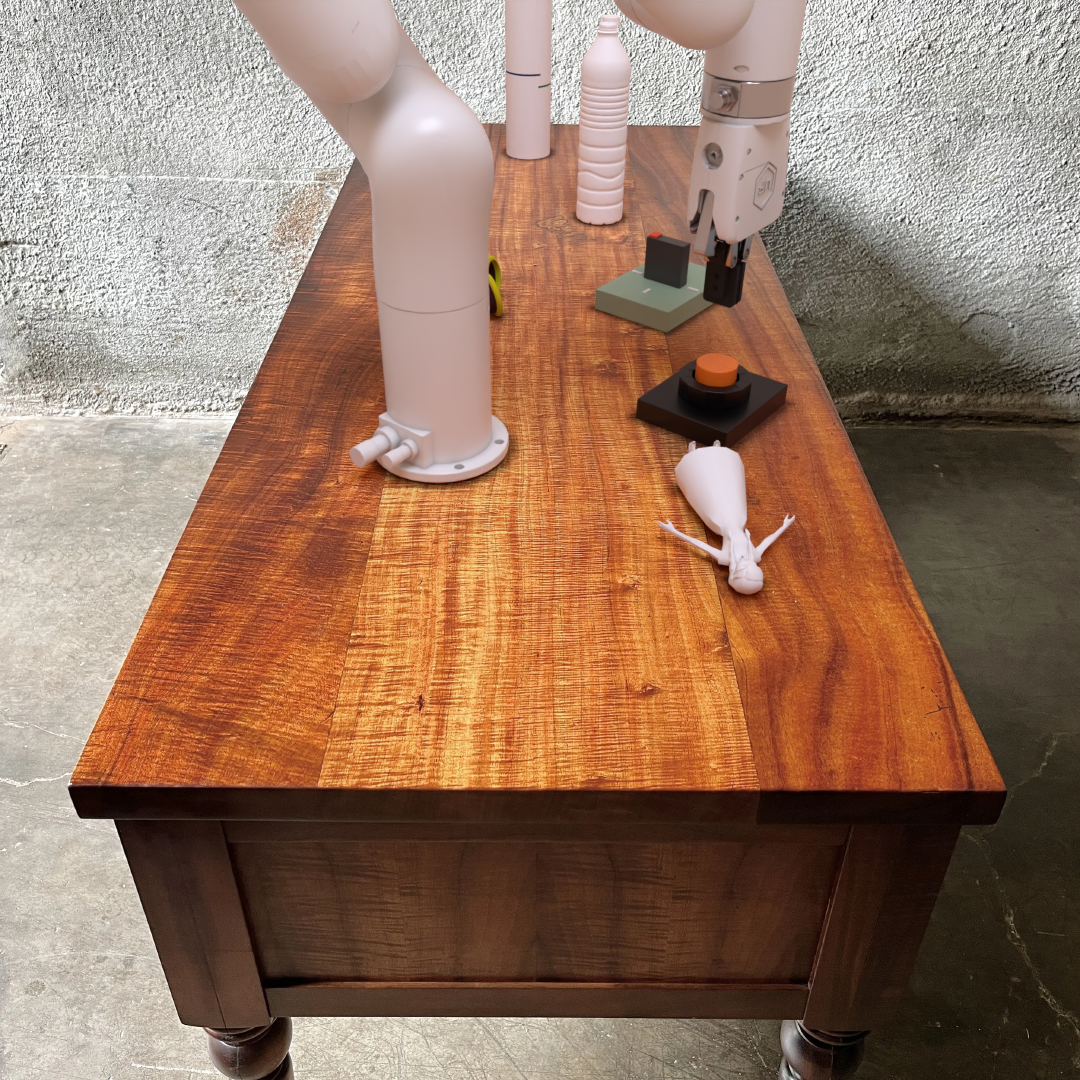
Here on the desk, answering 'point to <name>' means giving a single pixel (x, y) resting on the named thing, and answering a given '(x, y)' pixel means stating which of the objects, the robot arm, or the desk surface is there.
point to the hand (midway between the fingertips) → (721, 300)
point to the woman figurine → (722, 512)
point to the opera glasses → (495, 286)
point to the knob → (666, 260)
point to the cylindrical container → (528, 77)
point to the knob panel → (653, 298)
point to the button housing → (711, 406)
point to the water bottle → (603, 126)
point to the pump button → (716, 370)
